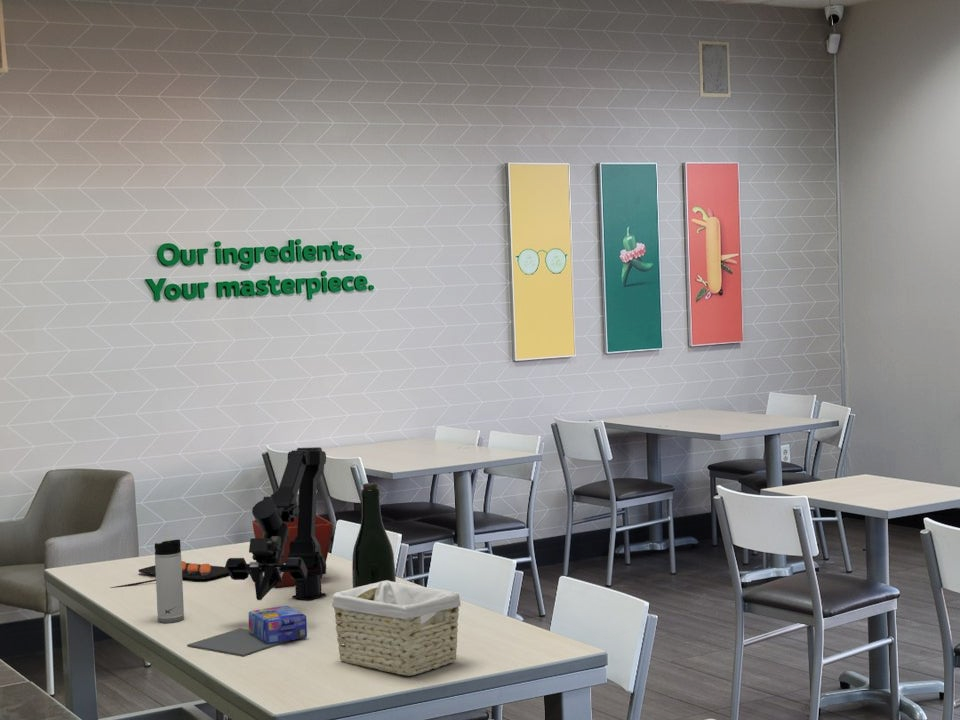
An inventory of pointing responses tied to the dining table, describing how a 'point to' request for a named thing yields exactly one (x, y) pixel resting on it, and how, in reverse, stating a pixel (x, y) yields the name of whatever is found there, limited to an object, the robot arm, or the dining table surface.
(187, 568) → the sushi plate
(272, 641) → the ink cartridge box
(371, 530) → the green wine bottle
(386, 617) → the storage basket
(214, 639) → the mat
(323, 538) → the plant pot
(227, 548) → the dining table surface
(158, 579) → the travel mug
